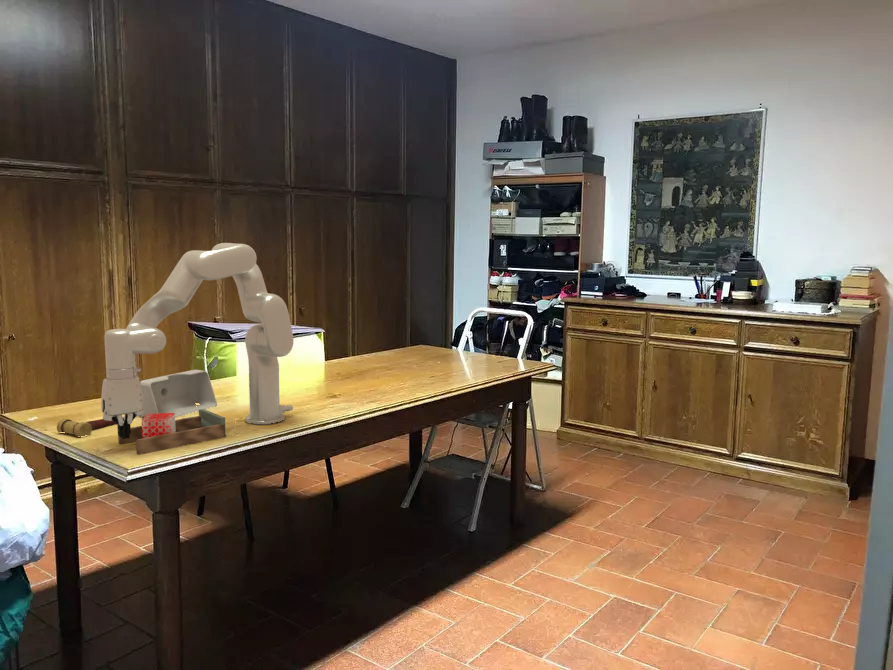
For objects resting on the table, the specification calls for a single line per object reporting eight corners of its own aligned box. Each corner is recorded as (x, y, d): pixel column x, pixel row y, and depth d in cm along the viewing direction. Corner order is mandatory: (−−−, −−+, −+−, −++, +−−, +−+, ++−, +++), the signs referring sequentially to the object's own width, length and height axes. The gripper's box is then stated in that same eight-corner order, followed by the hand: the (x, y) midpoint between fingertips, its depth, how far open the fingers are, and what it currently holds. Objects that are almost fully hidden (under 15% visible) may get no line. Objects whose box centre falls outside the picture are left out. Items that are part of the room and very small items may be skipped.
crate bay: (203, 427, 226) (202, 408, 226) (225, 437, 216) (225, 417, 215) (118, 443, 208) (117, 423, 208) (138, 454, 198) (137, 433, 197)
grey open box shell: (185, 400, 262) (184, 367, 260) (217, 406, 255) (216, 371, 253) (126, 415, 240) (124, 378, 238) (160, 421, 233) (158, 384, 231)
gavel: (115, 409, 235) (137, 413, 231) (115, 423, 236) (137, 427, 231) (56, 419, 217) (78, 424, 212) (56, 434, 217) (78, 439, 213)
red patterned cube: (147, 440, 213) (146, 413, 211) (175, 438, 214) (174, 412, 213) (142, 447, 205) (141, 420, 204) (172, 446, 207) (171, 419, 205)
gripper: (142, 368, 207) (145, 430, 210) (88, 375, 197) (91, 440, 200) (153, 372, 202) (156, 435, 205) (97, 379, 192) (101, 445, 194)
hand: (124, 437), depth 202 cm, fingers closed
